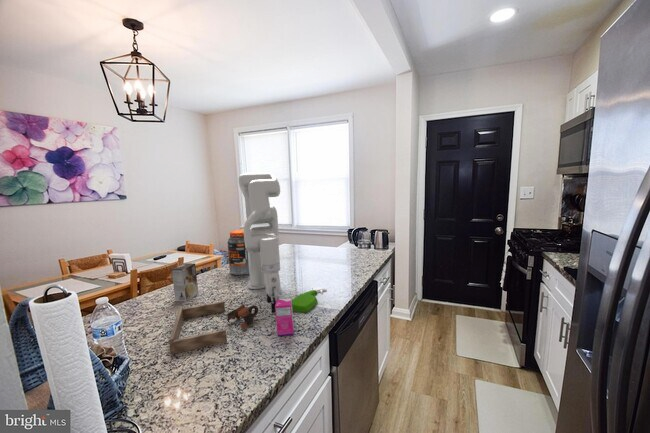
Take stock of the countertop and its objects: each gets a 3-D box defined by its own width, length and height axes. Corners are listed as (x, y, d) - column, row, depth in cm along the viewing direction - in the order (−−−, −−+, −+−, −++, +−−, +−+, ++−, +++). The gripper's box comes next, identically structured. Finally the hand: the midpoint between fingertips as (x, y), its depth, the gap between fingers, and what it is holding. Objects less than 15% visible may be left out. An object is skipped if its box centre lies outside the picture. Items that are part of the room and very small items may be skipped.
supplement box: (278, 328, 101) (276, 298, 99) (294, 327, 101) (292, 297, 100) (276, 336, 95) (274, 305, 94) (293, 335, 95) (291, 304, 94)
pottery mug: (235, 335, 98) (225, 314, 99) (232, 335, 106) (222, 315, 107) (265, 316, 105) (255, 297, 106) (259, 318, 113) (250, 300, 114)
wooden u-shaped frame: (225, 309, 118) (224, 298, 117) (227, 341, 93) (225, 327, 93) (180, 318, 112) (179, 306, 111) (170, 354, 87) (168, 340, 87)
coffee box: (187, 293, 138) (184, 262, 136) (198, 294, 137) (195, 263, 135) (174, 301, 129) (170, 268, 127) (186, 301, 128) (182, 268, 126)
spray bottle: (285, 310, 115) (309, 290, 138) (308, 314, 111) (329, 292, 134) (284, 304, 115) (309, 284, 138) (307, 307, 111) (329, 286, 133)
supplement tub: (224, 274, 166) (220, 232, 163) (241, 266, 180) (238, 228, 177) (245, 276, 160) (241, 233, 157) (261, 268, 174) (258, 229, 171)
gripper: (284, 271, 103) (287, 313, 105) (275, 260, 119) (277, 297, 121) (265, 274, 101) (268, 318, 103) (258, 262, 117) (261, 300, 119)
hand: (273, 306), depth 112 cm, fingers open, 9 cm apart
